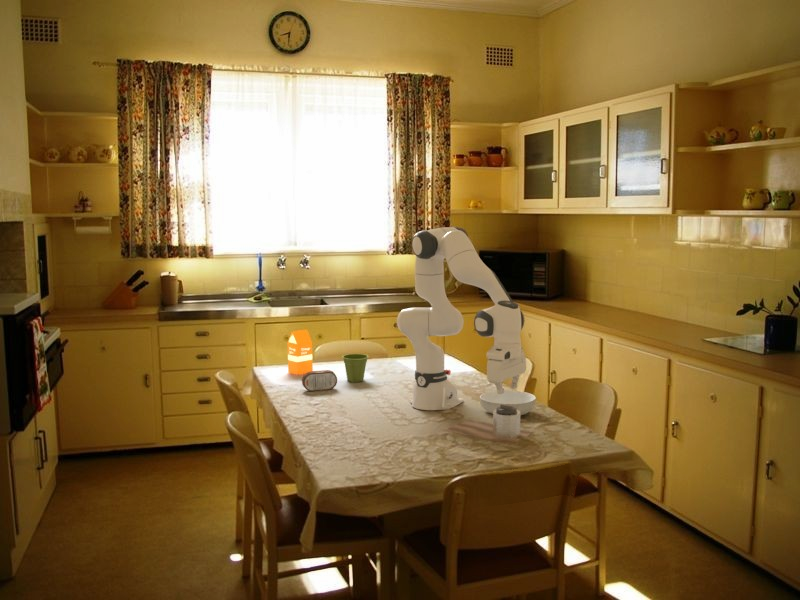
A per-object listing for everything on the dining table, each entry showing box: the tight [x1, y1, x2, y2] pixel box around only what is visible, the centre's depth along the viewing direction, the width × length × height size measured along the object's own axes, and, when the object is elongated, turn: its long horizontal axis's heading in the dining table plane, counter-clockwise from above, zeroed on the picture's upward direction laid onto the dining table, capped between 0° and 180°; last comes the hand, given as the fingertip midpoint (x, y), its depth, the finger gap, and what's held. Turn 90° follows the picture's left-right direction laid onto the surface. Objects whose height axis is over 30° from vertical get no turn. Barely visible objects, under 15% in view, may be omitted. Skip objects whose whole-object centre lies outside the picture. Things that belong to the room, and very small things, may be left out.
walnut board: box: [444, 419, 534, 445], centre depth 257 cm, size 16×26×2 cm, turn 52°
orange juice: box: [287, 329, 314, 375], centre depth 356 cm, size 8×9×20 cm
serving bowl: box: [479, 389, 537, 416], centre depth 283 cm, size 21×21×7 cm
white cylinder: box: [492, 409, 521, 439], centre depth 252 cm, size 9×9×8 cm
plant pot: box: [341, 353, 370, 383], centre depth 338 cm, size 12×12×11 cm
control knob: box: [496, 404, 517, 415], centre depth 252 cm, size 7×7×5 cm
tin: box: [301, 369, 338, 392], centre depth 321 cm, size 15×3×8 cm, turn 108°
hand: (507, 390), depth 251 cm, fingers open, 8 cm apart
